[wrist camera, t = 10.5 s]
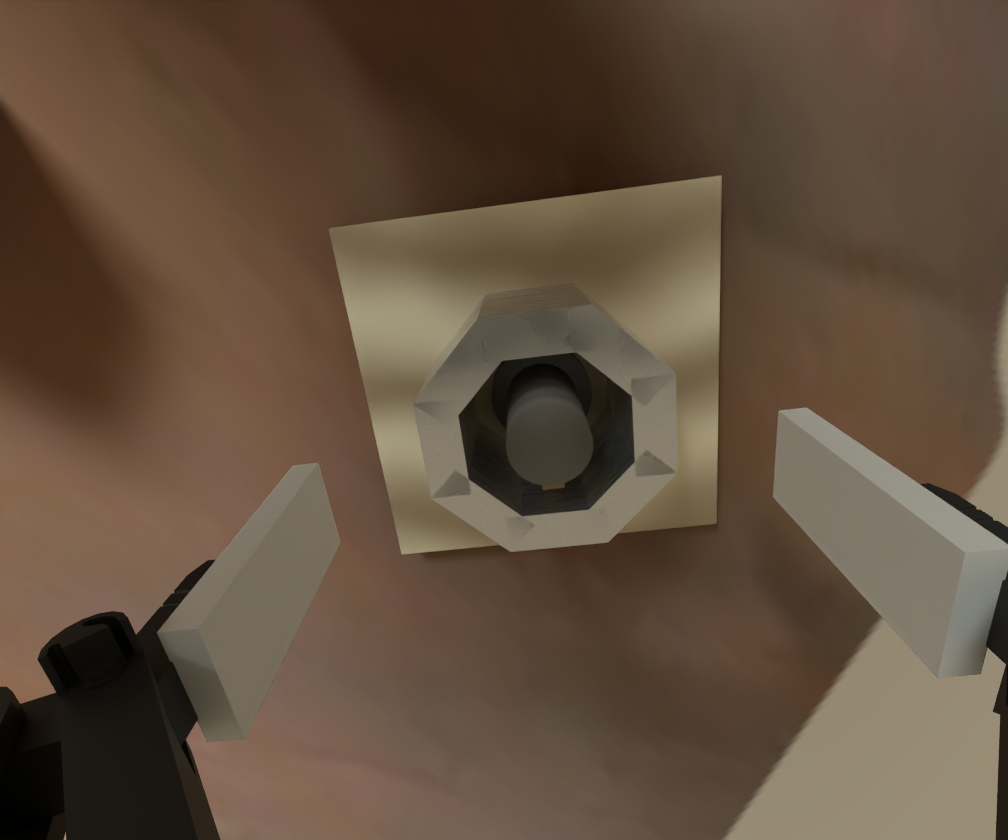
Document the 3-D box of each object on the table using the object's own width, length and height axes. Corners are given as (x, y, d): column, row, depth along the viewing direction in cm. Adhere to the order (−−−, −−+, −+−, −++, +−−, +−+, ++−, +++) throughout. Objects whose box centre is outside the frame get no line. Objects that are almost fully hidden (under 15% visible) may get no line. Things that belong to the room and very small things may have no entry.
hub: (425, 300, 23) (397, 328, 18) (635, 274, 23) (675, 294, 17) (457, 486, 27) (442, 558, 21) (642, 466, 26) (678, 535, 20)
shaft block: (339, 227, 24) (260, 233, 16) (708, 177, 23) (803, 160, 15) (407, 538, 29) (370, 648, 22) (706, 508, 29) (775, 613, 21)
